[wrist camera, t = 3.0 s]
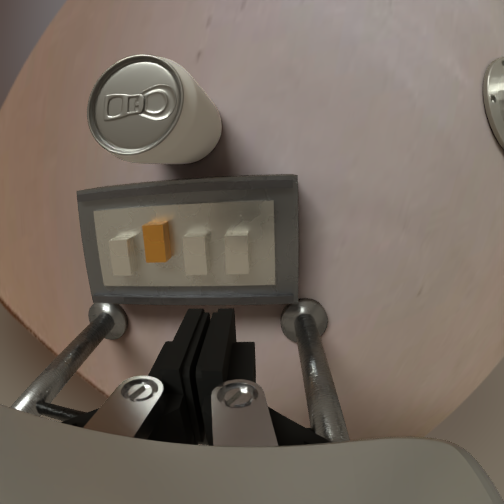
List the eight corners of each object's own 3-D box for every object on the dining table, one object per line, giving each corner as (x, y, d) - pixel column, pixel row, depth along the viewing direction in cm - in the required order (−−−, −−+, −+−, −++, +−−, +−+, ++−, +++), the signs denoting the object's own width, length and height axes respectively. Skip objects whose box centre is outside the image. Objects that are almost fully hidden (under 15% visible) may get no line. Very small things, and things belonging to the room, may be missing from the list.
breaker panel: (292, 174, 27) (300, 175, 21) (293, 285, 29) (300, 313, 23) (98, 187, 27) (65, 193, 22) (111, 287, 30) (83, 310, 24)
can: (221, 164, 27) (189, 161, 15) (150, 165, 27) (78, 167, 15) (224, 91, 25) (195, 41, 13) (152, 95, 25) (86, 57, 13)
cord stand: (327, 297, 29) (383, 428, 13) (324, 337, 30) (366, 475, 14) (88, 298, 30) (-15, 388, 14) (96, 334, 31) (11, 434, 15)
